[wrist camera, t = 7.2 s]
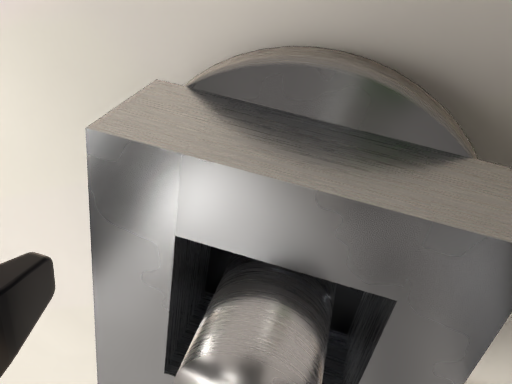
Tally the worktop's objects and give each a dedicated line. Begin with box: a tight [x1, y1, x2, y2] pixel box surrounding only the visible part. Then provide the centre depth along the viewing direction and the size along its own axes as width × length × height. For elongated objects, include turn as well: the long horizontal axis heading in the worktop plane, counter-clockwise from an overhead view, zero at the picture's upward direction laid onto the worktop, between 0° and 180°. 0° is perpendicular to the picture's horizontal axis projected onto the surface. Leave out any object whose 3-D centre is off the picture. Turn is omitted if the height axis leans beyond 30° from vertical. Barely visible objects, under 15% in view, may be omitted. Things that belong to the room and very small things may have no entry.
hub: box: [173, 46, 477, 384], centre depth 10 cm, size 9×9×6 cm
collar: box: [86, 79, 512, 384], centre depth 10 cm, size 7×7×3 cm
